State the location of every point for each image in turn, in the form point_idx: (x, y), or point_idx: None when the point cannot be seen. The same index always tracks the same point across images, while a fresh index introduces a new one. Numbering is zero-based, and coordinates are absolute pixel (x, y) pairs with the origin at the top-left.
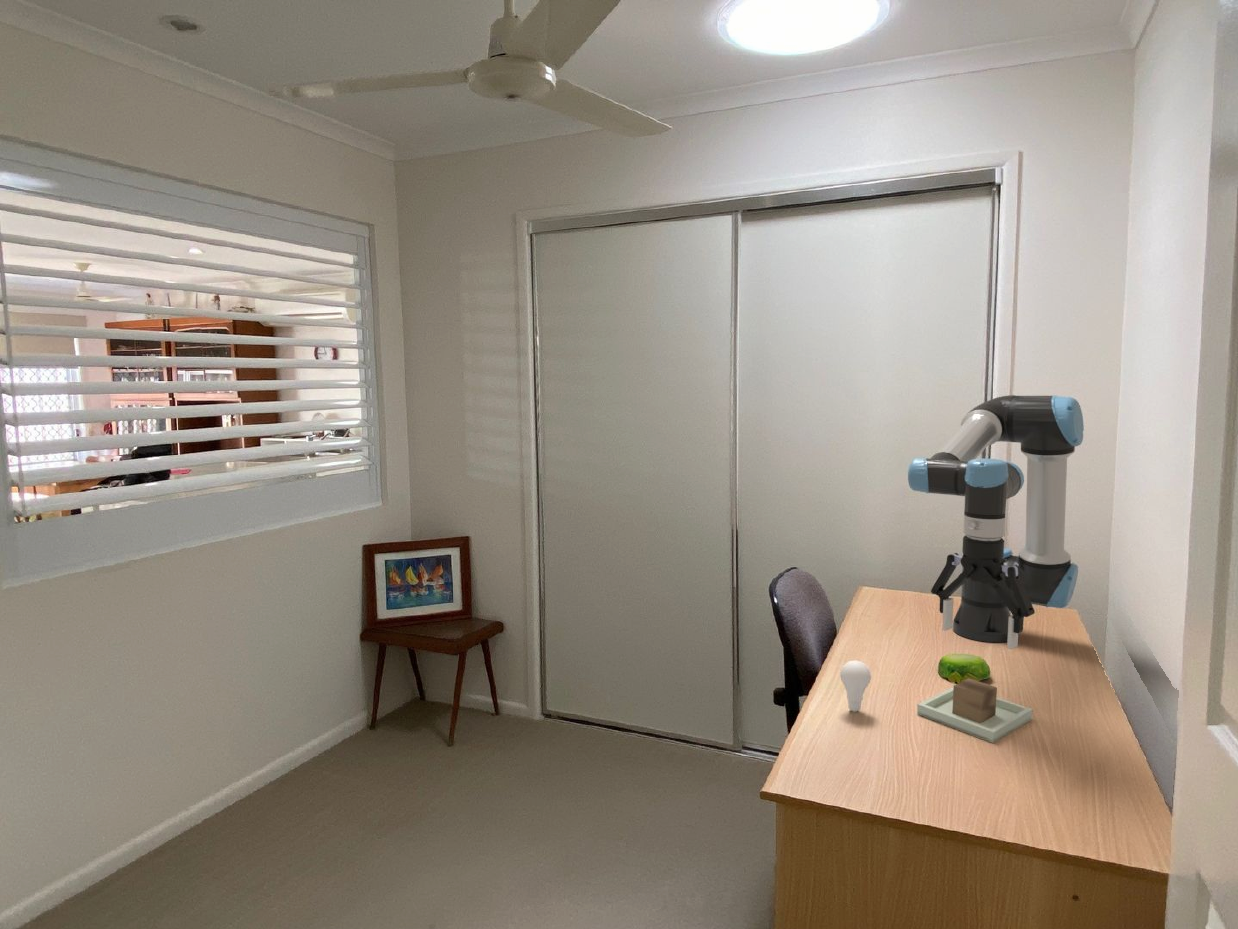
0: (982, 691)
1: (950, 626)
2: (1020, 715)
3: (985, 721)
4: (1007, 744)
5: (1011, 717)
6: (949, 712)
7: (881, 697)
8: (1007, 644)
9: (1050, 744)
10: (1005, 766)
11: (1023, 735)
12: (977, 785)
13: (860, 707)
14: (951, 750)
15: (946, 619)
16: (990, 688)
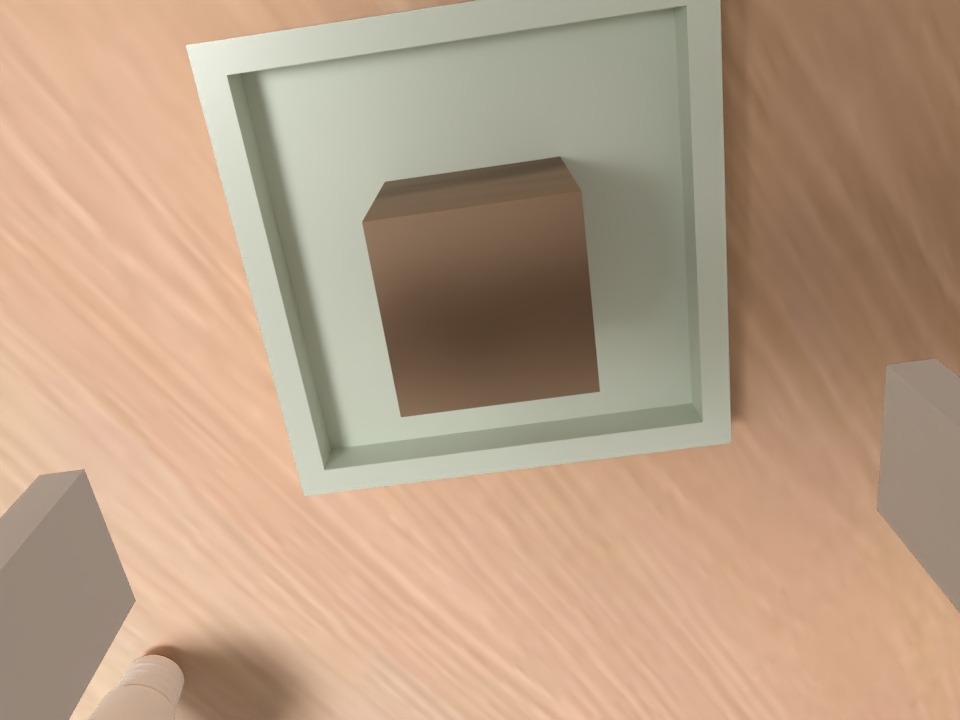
0: (566, 341)
1: (86, 530)
2: (717, 131)
3: None
4: (762, 366)
5: (697, 205)
6: None
7: (74, 463)
8: (903, 540)
9: (909, 181)
10: (853, 537)
11: (767, 210)
12: (847, 716)
13: (176, 676)
14: (637, 602)
15: (67, 703)
16: (567, 250)
